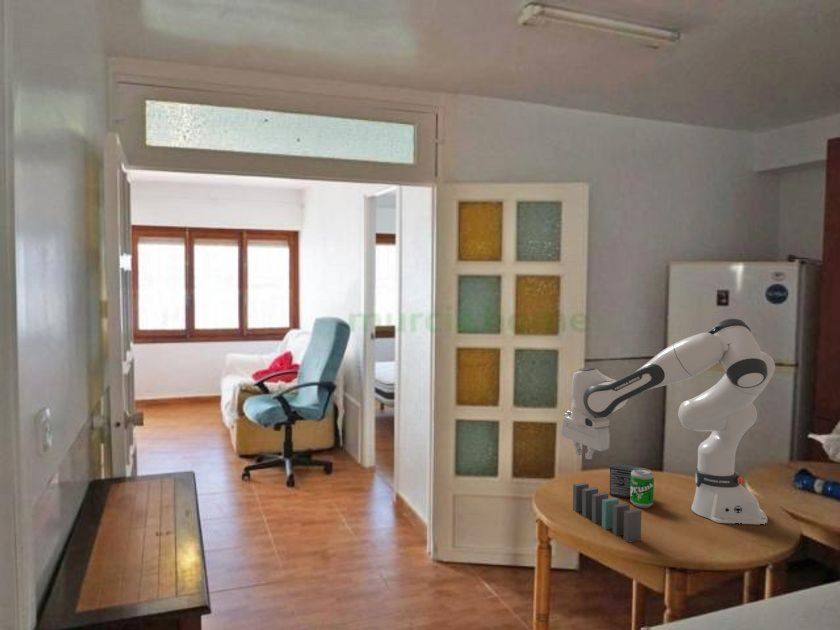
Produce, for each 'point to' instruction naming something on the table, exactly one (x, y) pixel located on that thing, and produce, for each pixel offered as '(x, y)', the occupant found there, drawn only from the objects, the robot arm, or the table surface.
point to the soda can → (642, 487)
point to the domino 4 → (608, 512)
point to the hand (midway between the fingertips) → (583, 456)
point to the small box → (621, 480)
